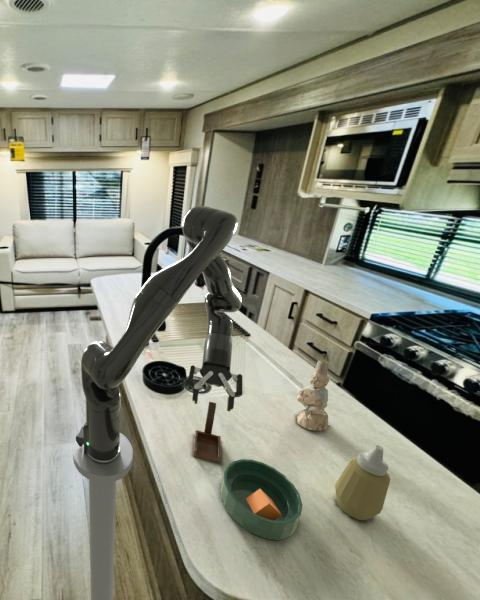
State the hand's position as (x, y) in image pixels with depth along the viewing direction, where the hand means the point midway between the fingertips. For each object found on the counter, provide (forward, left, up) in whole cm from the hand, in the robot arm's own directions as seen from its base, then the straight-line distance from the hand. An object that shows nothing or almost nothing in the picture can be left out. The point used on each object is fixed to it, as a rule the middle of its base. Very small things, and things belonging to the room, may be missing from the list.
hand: (212, 407), depth 86 cm
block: (+11, -19, -7) cm, 23 cm away
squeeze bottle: (+31, -11, -11) cm, 34 cm away
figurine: (+29, +16, -11) cm, 35 cm away
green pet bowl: (+11, -18, -10) cm, 23 cm away
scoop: (0, -5, -10) cm, 12 cm away
